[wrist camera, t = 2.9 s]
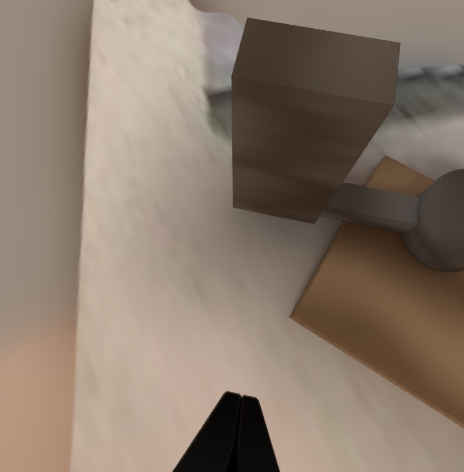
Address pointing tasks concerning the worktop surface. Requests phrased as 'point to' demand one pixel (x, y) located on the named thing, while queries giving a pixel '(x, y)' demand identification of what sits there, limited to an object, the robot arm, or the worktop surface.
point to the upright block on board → (329, 138)
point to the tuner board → (391, 305)
